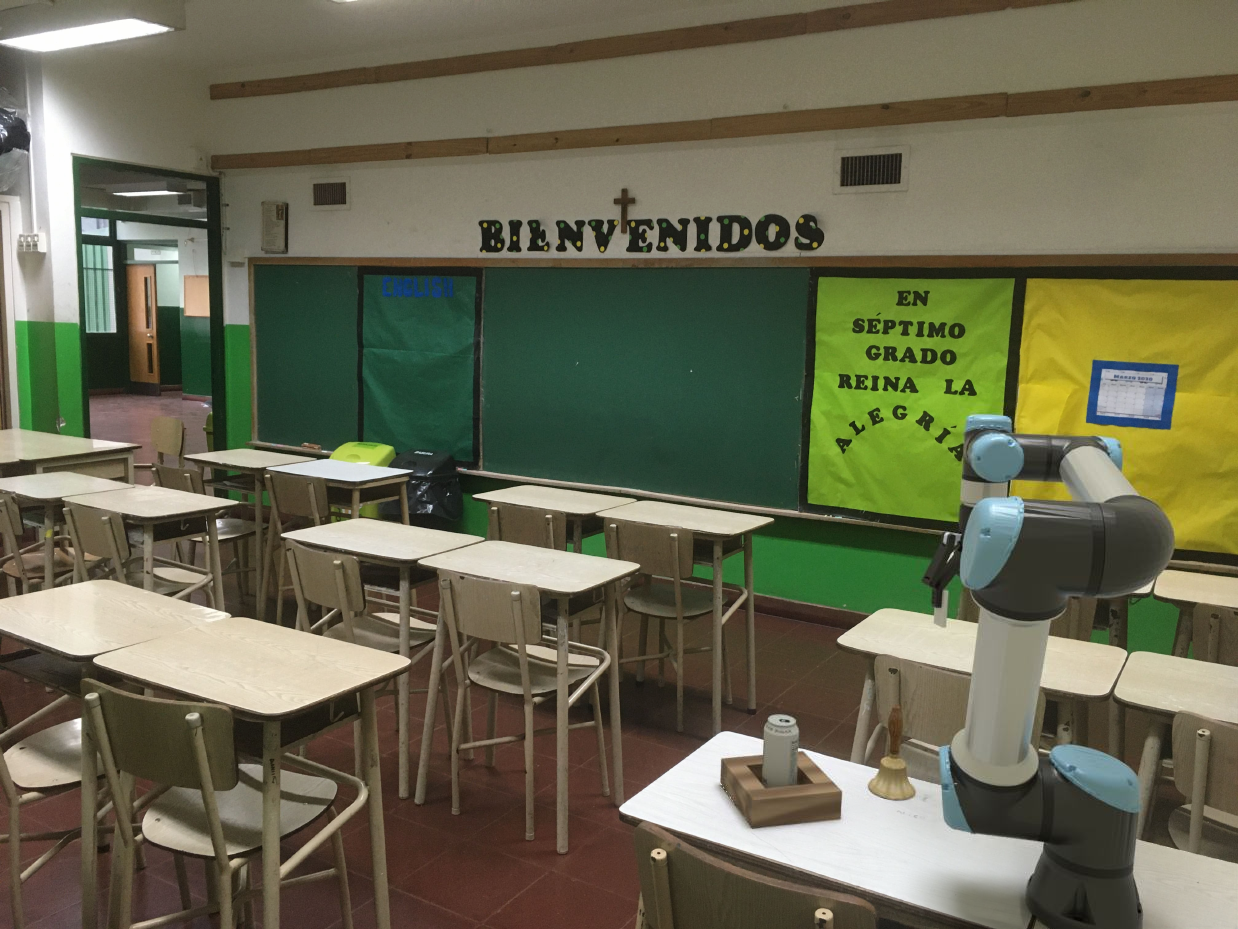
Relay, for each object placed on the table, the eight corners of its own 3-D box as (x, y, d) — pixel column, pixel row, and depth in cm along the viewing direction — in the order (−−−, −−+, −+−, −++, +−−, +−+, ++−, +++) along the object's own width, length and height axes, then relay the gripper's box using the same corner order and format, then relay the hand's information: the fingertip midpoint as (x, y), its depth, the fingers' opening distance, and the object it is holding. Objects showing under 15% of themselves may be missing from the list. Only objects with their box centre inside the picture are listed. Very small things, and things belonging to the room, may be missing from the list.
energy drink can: (764, 790, 174) (768, 711, 172) (798, 796, 172) (801, 716, 170) (758, 805, 169) (761, 723, 167) (792, 812, 167) (796, 729, 165)
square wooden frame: (840, 818, 165) (842, 791, 164) (752, 828, 161) (753, 800, 160) (801, 776, 180) (802, 751, 180) (720, 784, 176) (721, 758, 176)
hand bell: (921, 801, 172) (926, 715, 169) (874, 800, 172) (879, 714, 170) (908, 779, 180) (913, 697, 178) (863, 778, 180) (867, 696, 178)
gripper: (1031, 498, 174) (1022, 613, 177) (906, 502, 168) (899, 620, 171) (1059, 506, 167) (1050, 625, 170) (929, 510, 161) (922, 633, 164)
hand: (974, 623), depth 170 cm, fingers open, 13 cm apart
